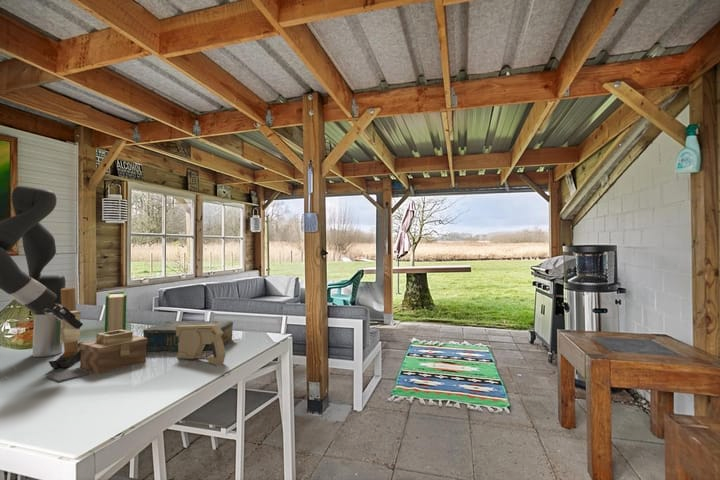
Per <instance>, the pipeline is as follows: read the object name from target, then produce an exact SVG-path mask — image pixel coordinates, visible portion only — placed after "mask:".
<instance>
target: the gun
mask: <svg viewBox="0 0 720 480" xmlns="http://www.w3.org/2000/svg"><path fill="white" fill-rule="evenodd" d="M222 335H223V331H222V330H221V329H220V327H219V326H218V325H180V326H176V336H179V343H178V351H177V352H178V353H177V355H176V358H177V359H181V360H206V361H208V363H211V364H212V365H215V366H221V365H224V362H225V358H226V349H225V345H223V341H222V340H221V336H222ZM206 344H209V348H210V347H212V351H211V352H212V354H202V352H203V351H202V350H203V349H204V347H205V345H206Z"/></svg>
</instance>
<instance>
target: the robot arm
mask: <svg viewBox="0 0 720 480" xmlns="http://www.w3.org/2000/svg"><path fill="white" fill-rule="evenodd" d="M57 202H58V201H57V195H56V194H55V191H54V192H53V191H52V190H48V189H45V188H40V187H34V186H33V187H32V186H24V185H22V186H21V185H18V186H16V187H15V188H13V190H12V192H11V204H12V208H13V211H14V214H15V215H13V216H11V217H8V218H5V219H3V220H1V221H0V290H2V291H3V292H5V293H6V294H7V295H9V296H10V297H11V298H12V299H13V300H15V301H16V302H18V303H20V304H21V305H22V306H23V307H25V308H26V309H28V310H30V311H31V312H32V313H33V333H32V334H33V335H32V354H31V355H32V357H34V358H43V357H50V356H55V355H58V354H61V353H63V342H60V335H61V320H64V321H66V323H69V324H70V325H72V326H73V327H75V328H76V329H79V328H80V329H81V327H82V326H83V325H84V324H83V322H81V320H80V321H78V320H77V319H76V318H75V317H76V316H75V315H74V314H72V313H71V312H70V311H69V310H68V309H66V307H63V306H62V303H61V289H62V288H66V283H67V282H66V278H65V276H64V275H62V274H47V275H46V274H42V271H43V269H45V268H46V266H47V265H48V264H49V263H50V262H51V261H52V260H53V258H54V257H55V256H56V253H57V247H56V240H55V237H54V235H53V234H52V233H51V232H50V231H49V230H48V228H46V227H45V226H44V225H43V224H42V223H41V221H42V220H44V219H45V218H46V217H48V216H49V215H50V214H51V213H52V212H53V211H54V209H55V208H56V206H57ZM19 240H21V241H22V247H23V252H24V257H25V260H26V265H27V270H28V273H26V272H25V271H24V270H22V269H21V268H20V267H19V266H18V264H17V262H15V260H14V259H13V257H12V256H11V255H10V254H9V251H10V250H12V249H13V247H15V246H16V244H17V243H18V242H19ZM68 316H70V318H68V319H67V317H68Z"/></svg>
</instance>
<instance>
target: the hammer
mask: <svg viewBox="0 0 720 480" xmlns="http://www.w3.org/2000/svg"><path fill="white" fill-rule="evenodd" d="M76 299H77V298H76V289H75V287H74V286H68V287H65V288H62V289H61V303H62V306H63V307H66V309H68V310H69V311H77V304H76V303H77V301H76ZM83 342H84V341H80V342H79V341H74V342H68V343H64V342H63V350H64V352H62V354H61V355H60V356H59V357H58V358H56V360H48V364H49V365H50V367H51V368H52V369H59V368H60V369H61V368H70V367H72V366H74V365H76V364H77V363H78V362H79V363H80V360H81V349H80V343H83Z"/></svg>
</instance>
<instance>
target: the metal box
mask: <svg viewBox="0 0 720 480" xmlns="http://www.w3.org/2000/svg"><path fill="white" fill-rule="evenodd" d="M180 325H218V326H219V327H220V329H221V330H222V331H223V335H222V336H221V340H222V341H223V345H224V346H225V345H227V344H229V343H230V342H232V340H233V326H234V321H233V320H220V321H219V320H217V321H216V320H210V321H209V320H168V321H164V322H163V323H158V324H156V325H154V326H153V325H151V326H149V327H146V328H144V329H143V331H142V333H143V337H144V338H148V343H147V344H146V353H147V352H151V353H152V352H153V353H154V352H155V353H156V352H157V353H158V352H179V351H178V343H179V336H176V326H180ZM202 352H212V347H210V348H209V344H206V345H205V347H204V349H203V350H202Z"/></svg>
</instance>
